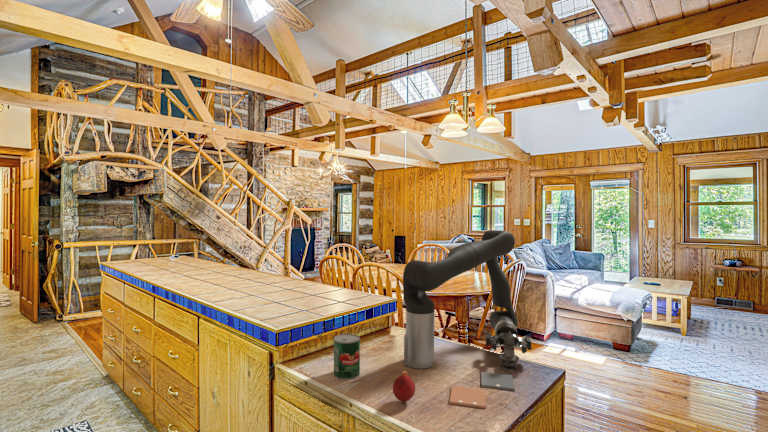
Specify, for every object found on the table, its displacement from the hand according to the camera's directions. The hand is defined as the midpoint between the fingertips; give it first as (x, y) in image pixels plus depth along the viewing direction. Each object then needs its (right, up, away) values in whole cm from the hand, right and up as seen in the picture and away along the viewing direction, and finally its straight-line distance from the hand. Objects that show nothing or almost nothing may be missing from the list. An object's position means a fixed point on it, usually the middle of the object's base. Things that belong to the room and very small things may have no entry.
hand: (509, 348), depth 120 cm
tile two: (-17, -7, -18) cm, 26 cm away
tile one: (-6, -7, -9) cm, 13 cm away
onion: (-34, -7, -21) cm, 41 cm away
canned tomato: (-51, -6, -5) cm, 51 cm away
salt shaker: (0, -7, +1) cm, 7 cm away
